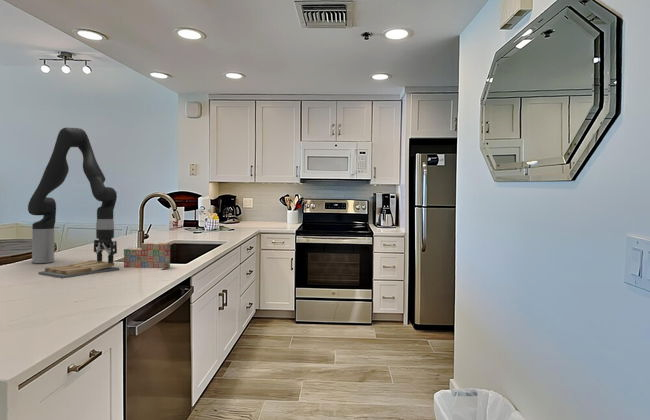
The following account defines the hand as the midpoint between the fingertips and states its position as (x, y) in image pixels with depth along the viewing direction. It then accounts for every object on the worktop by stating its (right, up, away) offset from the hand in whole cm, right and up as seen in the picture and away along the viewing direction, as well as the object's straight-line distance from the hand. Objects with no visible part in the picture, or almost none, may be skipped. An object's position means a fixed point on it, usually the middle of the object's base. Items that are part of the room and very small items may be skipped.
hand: (105, 262), depth 193 cm
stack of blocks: (+16, -4, +10) cm, 19 cm away
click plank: (-5, -2, -2) cm, 6 cm away
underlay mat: (-8, -4, -7) cm, 11 cm away
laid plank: (-11, -4, -11) cm, 16 cm away
